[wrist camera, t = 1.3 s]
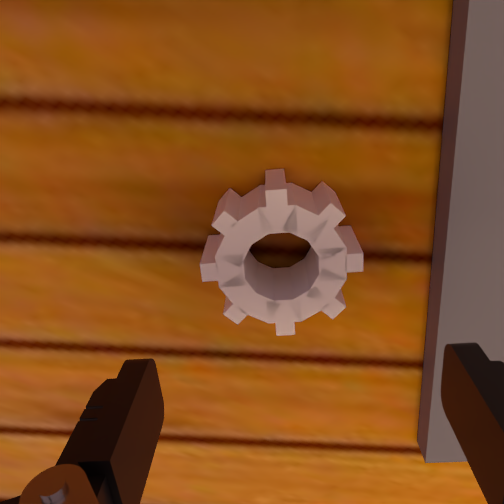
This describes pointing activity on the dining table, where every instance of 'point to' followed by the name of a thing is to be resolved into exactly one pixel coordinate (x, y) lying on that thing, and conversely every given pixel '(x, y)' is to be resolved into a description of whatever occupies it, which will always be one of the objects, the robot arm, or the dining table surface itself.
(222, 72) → the dining table surface
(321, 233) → the gear
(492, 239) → the gear board
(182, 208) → the dining table surface
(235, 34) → the dining table surface
